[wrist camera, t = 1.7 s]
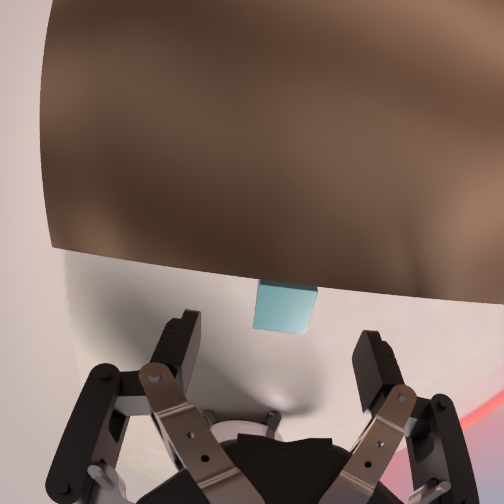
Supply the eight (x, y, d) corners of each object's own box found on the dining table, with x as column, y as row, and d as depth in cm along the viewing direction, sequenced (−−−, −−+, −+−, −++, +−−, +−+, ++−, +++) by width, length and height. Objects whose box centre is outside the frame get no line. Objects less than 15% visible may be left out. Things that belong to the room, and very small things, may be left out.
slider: (231, 0, 16) (201, -60, 7) (390, 27, 16) (455, -9, 7) (208, 241, 26) (174, 316, 17) (347, 259, 25) (377, 339, 16)
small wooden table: (184, -18, 16) (92, -106, 3) (433, 24, 15) (556, -11, 2) (165, 166, 23) (52, 247, 10) (406, 201, 23) (507, 304, 10)
